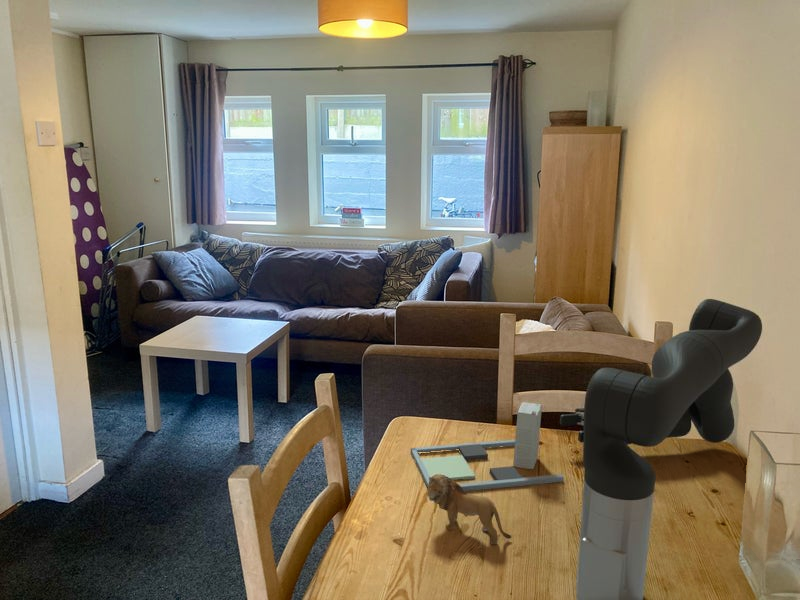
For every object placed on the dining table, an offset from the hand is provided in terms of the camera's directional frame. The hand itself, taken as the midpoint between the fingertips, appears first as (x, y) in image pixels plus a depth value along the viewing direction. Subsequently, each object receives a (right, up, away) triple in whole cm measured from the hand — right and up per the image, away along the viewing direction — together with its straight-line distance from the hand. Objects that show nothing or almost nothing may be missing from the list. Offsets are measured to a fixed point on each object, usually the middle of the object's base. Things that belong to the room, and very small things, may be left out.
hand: (569, 428), depth 131 cm
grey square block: (-14, -8, -7) cm, 18 cm away
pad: (-26, -8, -3) cm, 27 cm away
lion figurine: (-24, -13, -24) cm, 37 cm away
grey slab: (-20, -6, +3) cm, 21 cm away
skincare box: (-9, -7, 0) cm, 12 cm away
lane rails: (-18, -7, -2) cm, 19 cm away
